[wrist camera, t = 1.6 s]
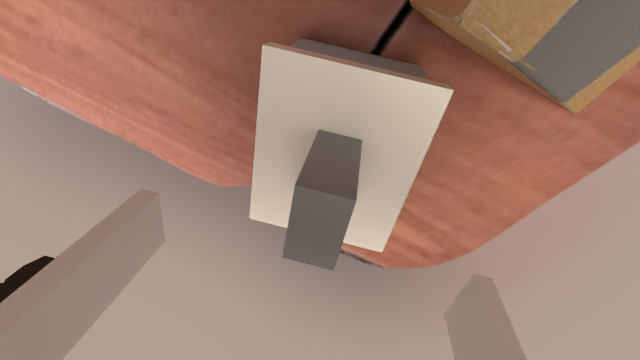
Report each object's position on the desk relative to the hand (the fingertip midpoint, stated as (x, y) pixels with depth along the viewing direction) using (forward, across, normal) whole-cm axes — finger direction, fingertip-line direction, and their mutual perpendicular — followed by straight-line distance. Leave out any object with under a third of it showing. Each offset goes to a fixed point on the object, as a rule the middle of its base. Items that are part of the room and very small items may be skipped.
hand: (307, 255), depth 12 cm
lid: (+9, 0, 0) cm, 9 cm away
